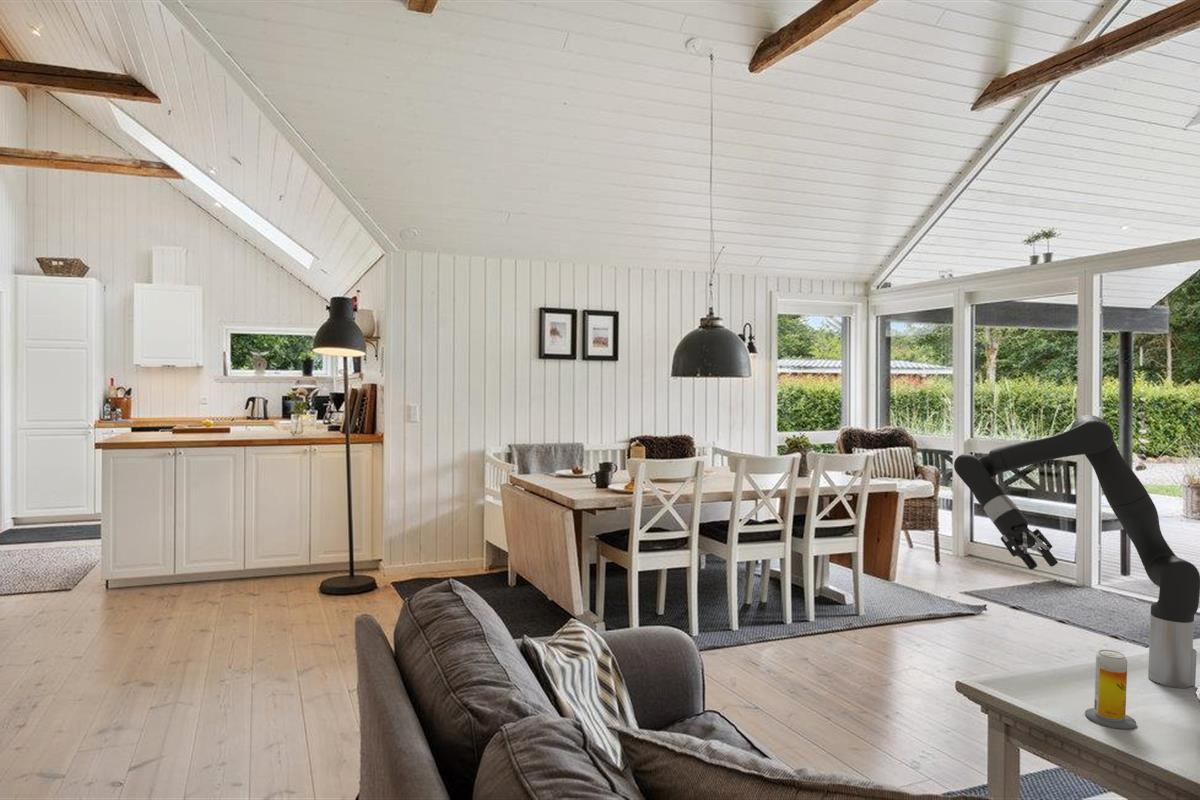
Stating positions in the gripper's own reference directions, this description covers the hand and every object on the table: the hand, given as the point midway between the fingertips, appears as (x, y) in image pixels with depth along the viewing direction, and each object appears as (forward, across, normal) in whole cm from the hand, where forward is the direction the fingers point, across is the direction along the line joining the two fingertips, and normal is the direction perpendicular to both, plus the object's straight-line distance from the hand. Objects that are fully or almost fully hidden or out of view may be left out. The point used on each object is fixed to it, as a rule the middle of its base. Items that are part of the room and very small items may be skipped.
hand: (1044, 566), depth 199 cm
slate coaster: (+37, -7, +7) cm, 38 cm away
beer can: (+36, -7, +6) cm, 37 cm away
